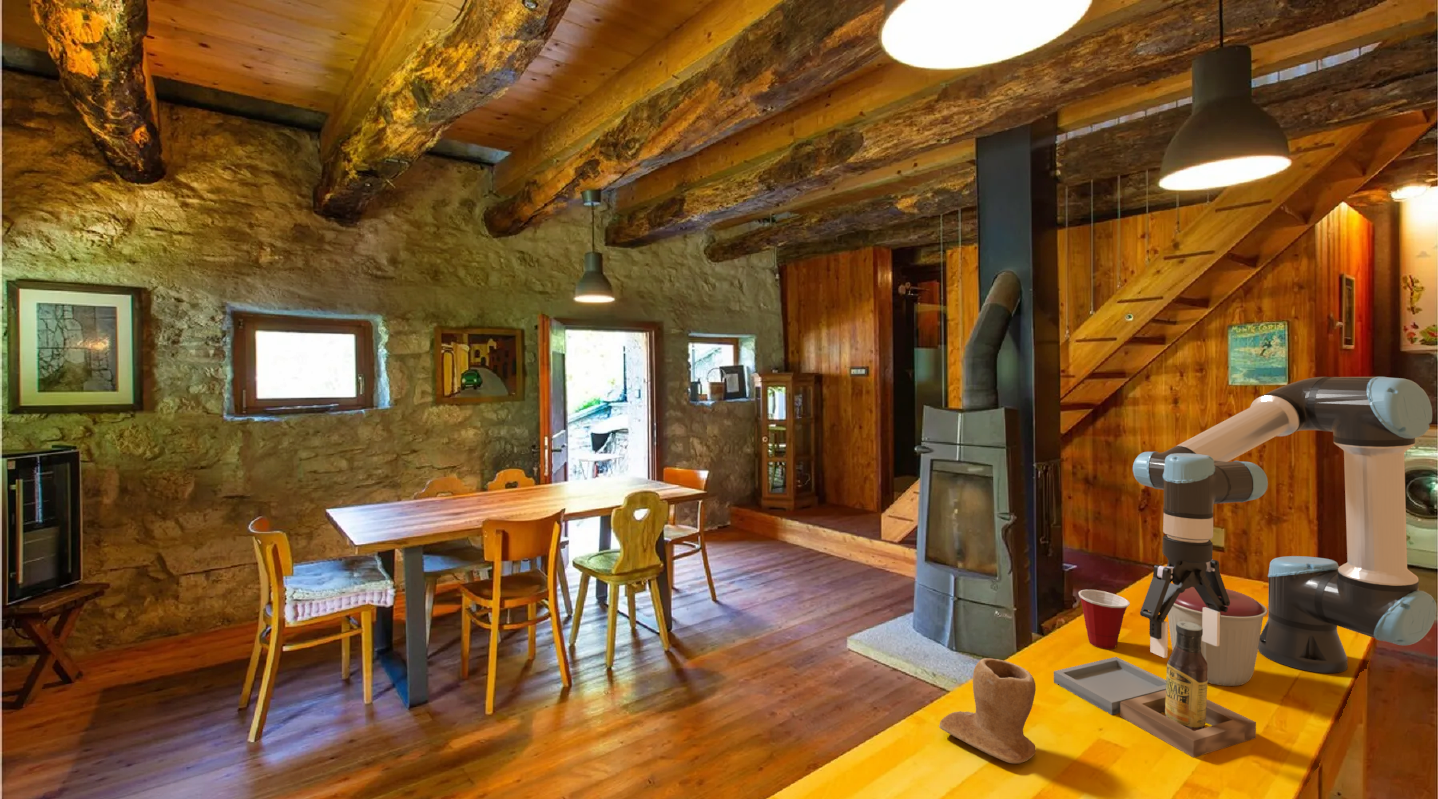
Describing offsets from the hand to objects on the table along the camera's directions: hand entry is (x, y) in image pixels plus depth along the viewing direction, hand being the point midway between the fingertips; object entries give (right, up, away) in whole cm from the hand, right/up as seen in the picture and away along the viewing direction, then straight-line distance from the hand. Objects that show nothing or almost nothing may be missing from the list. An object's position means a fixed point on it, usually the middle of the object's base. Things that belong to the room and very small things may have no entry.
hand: (1185, 649), depth 120 cm
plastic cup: (+7, -13, +37) cm, 39 cm away
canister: (+21, -14, +20) cm, 32 cm away
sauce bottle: (+1, -15, +1) cm, 15 cm away
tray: (-4, -15, +15) cm, 21 cm away
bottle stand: (+1, -15, +1) cm, 15 cm away
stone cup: (-37, -17, -2) cm, 41 cm away
